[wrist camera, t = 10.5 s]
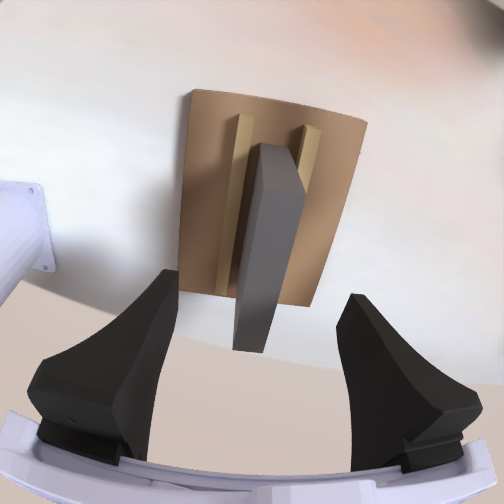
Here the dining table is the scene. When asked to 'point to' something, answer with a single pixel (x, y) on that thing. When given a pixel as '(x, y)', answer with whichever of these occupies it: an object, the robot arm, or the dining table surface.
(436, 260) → the dining table surface
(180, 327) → the dining table surface
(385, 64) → the dining table surface
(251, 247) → the grey upright slab
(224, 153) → the board
